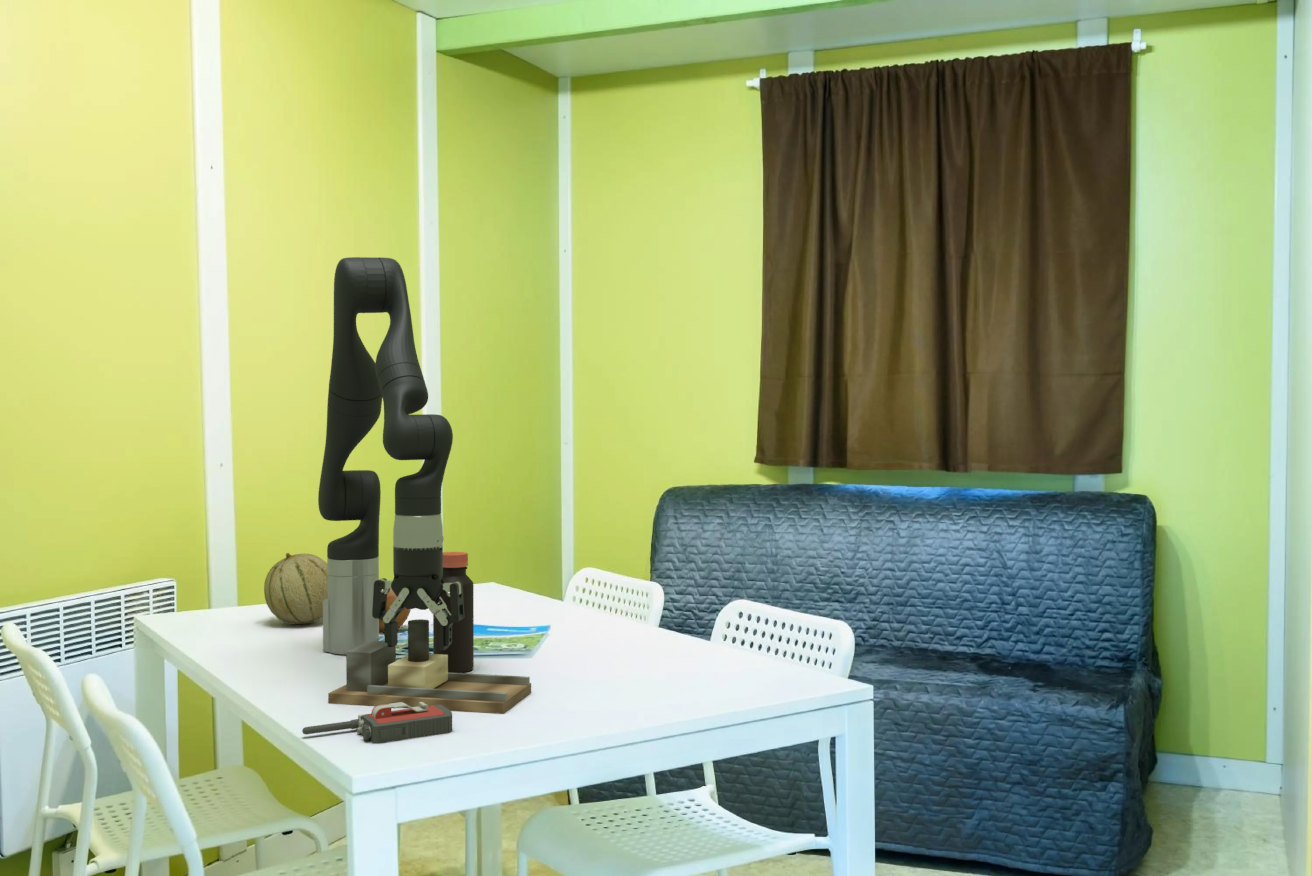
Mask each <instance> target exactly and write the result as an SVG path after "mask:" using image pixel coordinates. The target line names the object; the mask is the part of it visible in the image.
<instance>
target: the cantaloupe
mask: <svg viewBox="0 0 1312 876" xmlns="http://www.w3.org/2000/svg"><path fill="white" fill-rule="evenodd" d="M266 574H267V575H266V577H265V579H264V586H263V593H264V599H265V603H266V605H267V607H268V609H269V611H270V612H271V613H272V615H274V616H275V617H276V618H277V619H278V620H279V621H281V622H283V623H287V624H291V625H306V623H308V624H312V623H315V622H317V621H319V620H320V619H323V600H324V599H327V598H328V590H327V562H326V561H325V560H324V559H322V558H321V557H319V556H317V555H315V554H312V553H311V554H310V553H304V552H303V553H296V554H291V553H290V552H287V553H285V558H282V559H281V560H279V561H277V562H276V563H274V565H272V566H271V568H270V569H269V571H268V572H267V573H266Z"/></svg>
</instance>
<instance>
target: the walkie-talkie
mask: <svg viewBox="0 0 1312 876" xmlns="http://www.w3.org/2000/svg"><path fill="white" fill-rule="evenodd" d="M419 704H420V705H421V706H418V707H410V706H408V705H407V704H405V703H403V702H398V703H391V704H387V705H386V704H383V705H377V706H373V708H372V709H371V713H366V714H364V713H363V714H358V716H357V719H351V720H347V721H340V722H332V723H325V724H319V725H311V726H305V727H303V728H302V730H301V733H302V734H303V735H313V734H319V733H328V732H335V731H341V730H342V731H344V730H348V729H349V730H356V733H357V735H358V734H359V735H362V739H363V740H364V741H370V742H371V743H372V744H373V745H374V744H377V745H378V744H385V743H391V742H398V741H403V740H409V739H410V740H411V739H417V738H424V737H430V736H431V737H432V736H436V735H437V736H439V735H444V734H445V735H446V734H450V733H452V732H453V712H452V710H449V709H447V708H445V707H444V706H442V705H432V706H428V705H427V704H425V703H423V702H419ZM402 707H408V708H404V709H403V708H402ZM399 708H400V709H399ZM392 709H397V710H392Z"/></svg>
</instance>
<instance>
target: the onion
mask: <svg viewBox="0 0 1312 876" xmlns="http://www.w3.org/2000/svg"><path fill="white" fill-rule="evenodd" d="M396 598H397V596H396V595H395V593H394V592H393V590H392V588H391V589H390V592H389V593H387V605H386V611H388V610H389V609H390V606H391V605H392V603H393V602H394V601H395V599H396ZM411 610H412V609H406V608H405V609H404V610H402V612H401V613H400V614H399V616H398V617H397V618H396V620H395V621H398V629H400V628H401V627H402V626H403V625H404V623H405V622H406V621H407V619H408V617H409V615H410V613H411ZM381 631H384V622H383V621H382V620H380V619H379V632H381Z"/></svg>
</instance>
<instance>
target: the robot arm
mask: <svg viewBox="0 0 1312 876" xmlns="http://www.w3.org/2000/svg"><path fill="white" fill-rule="evenodd" d="M377 313H378V314H380V313H381V314H382V313H383V314H384V313H387V314H388V316H389V326H388V330H387V332H386V334H385V337H384V338H383V341H382V343H381V345H380V347H379V349H378V352H377V353H376V358H375V360H374V358H373V357H372V355H371V354H370V352H369V351H368V349H367V348H366V347H365V344H364V343H363V340H362V339H361V336H360V334H359V331H358V329H357V317H358V314H377ZM413 329H414V328H413V321H412V315H411V308H410V300H409V295H408V288H407V282H406V278H405V274H404V271H403V269H402V267H401V264H400V262H398V261H397V260H396V259H394V258H391V257H366V256H365V257H361V256H360V257H357V256H356V257H343V258H340V260H339V261H338V262H337V264H336V268H335V271H334V279H333V338H332V339H333V343H332V353H331V355H332V356H331V363H330V364H331V366H330V371H329V372H330V374H329V381H328V391H327V392H328V395H327V407H326V408H327V410H326V433H325V445H324V452H323V458H322V459H323V460H322V464H321V465H322V466H321V472H320V476H319V477H320V479H319V485H318V497H317V498H318V499H317V500H318V502H317V503H318V504H317V505H318V509H319V510H318V511H319V514H320V516H321V517H322V519H324V520H326V521H333V522H341V521H346V522H347V521H359V524H358V526H357V527H356V528H355V529H354V530H353V531H351V532H350V533H348V534H345V535H344V536H341V537H339V538H336V539H334V540H332V541H330V542H329V543H328V545H327V547H326V548H327V550H326V552H327V554H326V557H327V558H326V560H327V562H326V563H327V590H328V598H327V599H324V600H323V617H322V652H326V653H331V654H334V655H346V652H347V651H350V650H352V649H354V648H356V647H359V646H361V645H363V644H366V643H368V642H370V641H380V631H379V619H380V620H382V621H383V622H384V630H383V631H384V637H383V638H384V639H383V641H385V643H388V647H394V646H396V647H397V645H398V642H399V640H398V630H399V628H398V621H395V620H396V618H397V617H398V616H399V614H400V613H401V612H402V610H404V609H405V608H406V609H411V610H413V609H418V610H421V611H423V610H425V611H426V610H429V611H430V613H431V614H432V616H433V615H435V616H436V618H437V619H438V620H439V622H440V623H441V626H439V649H440V650H445V649H447V648H448V647H449V645H451V643H452V624H453V623H454V622H458V621H459V620H462V619H463V618H464V616H465V615H464V598H463V584H462V582H460V581H458V582H454V583H445V582H444V581H443V577H442V574H443V552H444V546H443V545H444V544H443V543H444V530H443V529H444V528H443V527H444V526H443V519H442V485H443V481H444V476H445V473H446V472H445V471H446V468H447V464H448V461H449V457H450V454H451V451H452V446H453V440H454V435H453V434H454V432H453V429H452V426H451V424H450V421H448V419H447V418H446V417H445V416H443V415H441V414H435V413H434V414H432V413H431V414H428V413H427V414H423V413H422V414H415V413H417V412H418V411H420V410H422V409H423V408H425V406H426V405H427V403H428V401H429V392H428V388H427V384H426V381H425V379H424V378H425V377H424V375H423V371H422V368H421V365H420V361H419V358H418V355H417V349H416V346H415V345H416V344H415V338H414V330H413ZM382 404H383V429H382V444H383V448H384V450H385V451H386V453H387V454H388V455H389V456H390V457H391V458H392V459H394V460H396V461H423V463H422V465H421V467H420V468H419V470H418V471H417V472H415V473H411V474H409V475H404V476H401V477H399V478H397V480H396V482H395V485H394V514H395V515H394V522H393V528H392V529H393V530H392V532H393V533H392V534H393V536H392V537H393V538H392V539H393V547H392V548H393V551H392V552H393V555H392V556H393V558H392V559H393V561H392V564H393V565H392V567H393V568H392V569H393V579H392V580H388V579H387V578H385V577H383V578H380V564H379V563H380V561H379V560H380V558H379V557H380V552H379V551H380V548H379V545H380V514H381V513H380V510H381V492H382V491H381V481H380V477H379V475H378V474H377V472H375V470H371V469H365V470H362V469H356V470H354V469H353V470H344V468H345V465H346V463H347V460H348V458H349V457H350V455H351V453H352V452H353V451H354V449H356V447H357V446H358V445H359V444H360V443H361V442H362V440H363V439H364V438H366V436H367V435H368V433H370V431H371V430H372V429H373V428H374V427H375V425H376V423H377V421H378V420H379V418H380V416H381V412H382ZM391 588H392V590H393V592H394V593H395V595H396V596H397V598H396V599H395V601H394V602H393V603H392V605H391V606H390V609H389V610H388V611H386V605H387V593H389V592H390V589H391ZM444 590H445V591H446V592H447V595H448V596H449V597H450V604H451V614H450V612H449V611H448V609H447V606H446V604H445V603H444V601H443V600H442V598H441V597H440V596H441V594H442V593H443V592H444Z"/></svg>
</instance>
